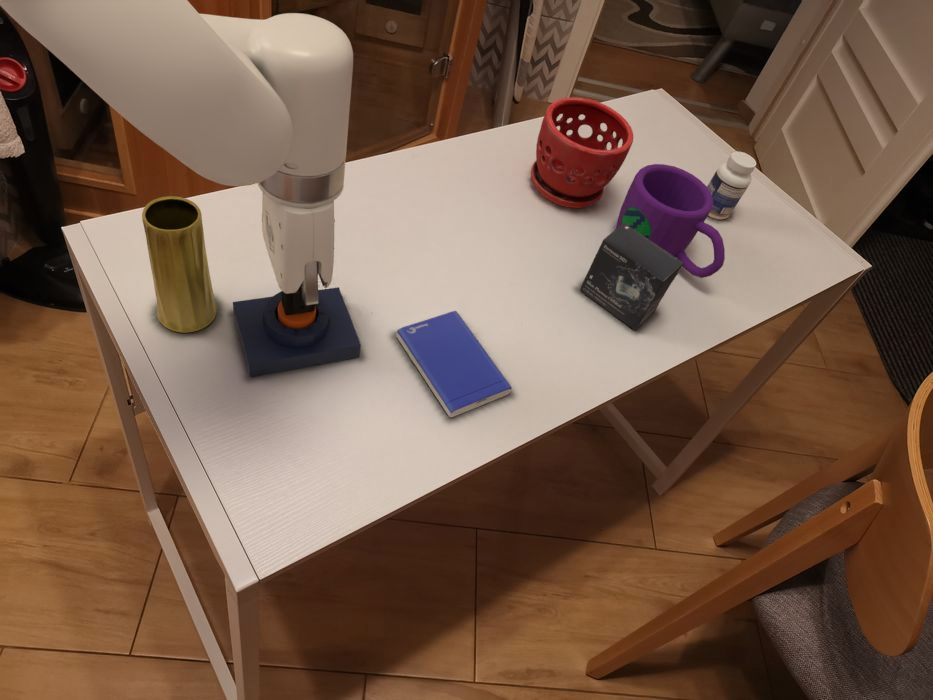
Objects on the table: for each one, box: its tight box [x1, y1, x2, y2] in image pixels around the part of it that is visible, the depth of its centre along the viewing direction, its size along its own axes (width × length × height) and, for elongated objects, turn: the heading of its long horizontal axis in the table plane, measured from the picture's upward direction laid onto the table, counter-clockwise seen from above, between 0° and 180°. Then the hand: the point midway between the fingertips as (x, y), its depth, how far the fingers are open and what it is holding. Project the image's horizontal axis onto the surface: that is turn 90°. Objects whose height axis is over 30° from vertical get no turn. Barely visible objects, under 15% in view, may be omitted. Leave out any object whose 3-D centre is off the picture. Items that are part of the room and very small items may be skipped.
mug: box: [615, 163, 726, 279], centre depth 96 cm, size 17×11×10 cm, turn 35°
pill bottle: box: [706, 150, 757, 220], centre depth 107 cm, size 5×5×10 cm
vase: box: [141, 195, 217, 334], centre depth 71 cm, size 6×6×14 cm
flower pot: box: [530, 97, 634, 209], centre depth 101 cm, size 13×13×12 cm
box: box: [579, 223, 684, 331], centre depth 88 cm, size 9×6×10 cm, turn 49°
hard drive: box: [395, 310, 513, 418], centre depth 78 cm, size 2×8×12 cm
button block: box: [232, 287, 361, 378], centre depth 75 cm, size 12×9×4 cm
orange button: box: [278, 301, 316, 329], centre depth 74 cm, size 4×4×2 cm
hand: (298, 308), depth 74 cm, fingers closed
